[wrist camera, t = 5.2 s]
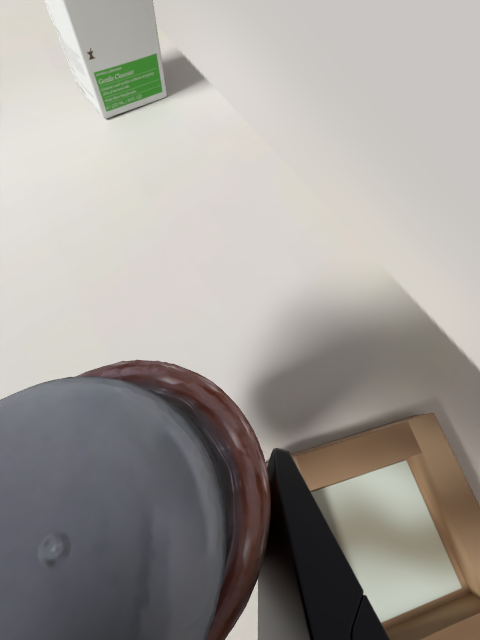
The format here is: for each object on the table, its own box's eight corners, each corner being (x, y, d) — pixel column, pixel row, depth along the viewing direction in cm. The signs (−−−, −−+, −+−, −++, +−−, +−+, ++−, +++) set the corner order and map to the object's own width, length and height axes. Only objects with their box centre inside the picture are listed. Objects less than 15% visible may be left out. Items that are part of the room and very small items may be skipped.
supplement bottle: (223, 386, 15) (228, 264, 5) (263, 513, 13) (424, 773, 3) (105, 426, 14) (-213, 379, 4) (129, 570, 12) (-424, 1345, 2)
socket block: (511, 618, 18) (545, 639, 16) (327, 703, 16) (341, 738, 14) (415, 415, 22) (433, 413, 20) (261, 464, 20) (265, 466, 18)
